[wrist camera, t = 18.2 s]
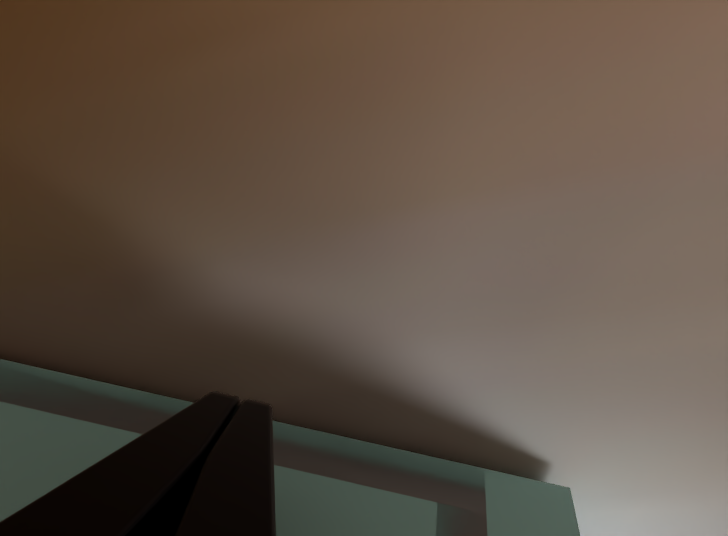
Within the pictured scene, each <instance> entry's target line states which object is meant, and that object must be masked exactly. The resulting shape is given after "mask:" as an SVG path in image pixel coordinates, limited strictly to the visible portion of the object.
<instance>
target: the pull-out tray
mask: <svg viewBox="0 0 728 536" xmlns="http://www.w3.org/2000/svg"><path fill="white" fill-rule="evenodd" d="M191 404H193V402H189V401H184V400H180V399H175V398H171V397H166V396H162V395H158V394H153V393H149V392H144V391H140V390H136V389H131V388H127V387H122V386H118V385H113V384H109V383H105V382H100V381H96V380H91V379H87V378H83V377H78V376H74V375H69V374H65V373H61V372H56V371H52V370H47V369H43V368H38V367H34V366H30V365H25V364H21V363H16V362H12V361H8V360H3V359H0V522H1V521H2V520H4V519H6V518H7V517H9V516H10V515H12V514H14V513H15V512H17V511H19V510H20V509H22V508H23V507H25V506H27V505H28V504H30V503H32V502H33V501H35V500H36V499H38V498H40V497H41V496H43V495H45V494H46V493H48V492H49V491H51V490H53V489H54V488H56V487H58V486H59V485H61V484H62V483H64V482H66V481H67V480H69V479H71V478H72V477H74V476H75V475H77V474H79V473H80V472H82V471H84V470H85V469H87V468H88V467H90V466H92V465H93V464H95V463H97V462H98V461H100V460H102V459H103V458H105V457H106V456H108V455H110V454H111V453H113V452H115V451H116V450H118V449H119V448H121V447H123V446H124V445H126V444H128V443H129V442H131V441H132V440H134V439H136V438H137V437H139V436H141V435H142V434H144V433H145V432H147V431H149V430H150V429H152V428H154V427H155V426H157V425H158V424H160V423H162V422H163V421H165V420H167V419H168V418H170V417H171V416H173V415H175V414H176V413H178V412H180V411H181V410H183V409H184V408H186V407H188V406H189V405H191ZM273 450H274V482H275V513H276V536H580V532H579V528H578V523H577V518H576V514H575V509H574V505H573V500H572V495H571V491H570V488H568V487H564V486H559V485H555V484H550V483H546V482H542V481H537V480H533V479H528V478H524V477H520V476H515V475H511V474H506V473H502V472H497V471H493V470H489V469H484V468H480V467H475V466H471V465H467V464H462V463H458V462H453V461H449V460H445V459H440V458H436V457H431V456H427V455H422V454H418V453H414V452H409V451H405V450H400V449H396V448H392V447H387V446H383V445H378V444H374V443H369V442H365V441H361V440H356V439H352V438H347V437H343V436H339V435H334V434H330V433H325V432H321V431H317V430H312V429H308V428H303V427H299V426H294V425H290V424H286V423H281V422H277V421H273Z"/></svg>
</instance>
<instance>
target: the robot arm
mask: <svg viewBox="0 0 728 536" xmlns="http://www.w3.org/2000/svg"><path fill="white" fill-rule="evenodd" d="M0 536H276V513H275V482H274V450H273V418H272V407H271V405H270V404H268V403H263V402H259V401H255V400H251V399H246V400H244V401H243V402H242V403H241V401H240V399H239V398H238V397H237V396H233V395H229V394H225V393H220V392H211V393H209V394H207V395H206V396H204V397H202V398H201V399H199V400H197V401H196V402H194V403H193V404H191V405H189V406H188V407H186V408H184V409H183V410H181V411H180V412H178V413H176V414H175V415H173V416H171V417H170V418H168V419H167V420H165V421H163V422H162V423H160V424H158V425H157V426H155V427H154V428H152V429H150V430H149V431H147V432H145V433H144V434H142V435H141V436H139V437H137V438H136V439H134V440H132V441H131V442H129V443H128V444H126V445H124V446H123V447H121V448H119V449H118V450H116V451H115V452H113V453H111V454H110V455H108V456H106V457H105V458H103V459H102V460H100V461H98V462H97V463H95V464H93V465H92V466H90V467H88V468H87V469H85V470H84V471H82V472H80V473H79V474H77V475H75V476H74V477H72V478H71V479H69V480H67V481H66V482H64V483H62V484H61V485H59V486H58V487H56V488H54V489H53V490H51V491H49V492H48V493H46V494H45V495H43V496H41V497H40V498H38V499H36V500H35V501H33V502H32V503H30V504H28V505H27V506H25V507H23V508H22V509H20V510H19V511H17V512H15V513H14V514H12V515H10V516H9V517H7V518H6V519H4V520H2V521H1V522H0Z"/></svg>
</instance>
